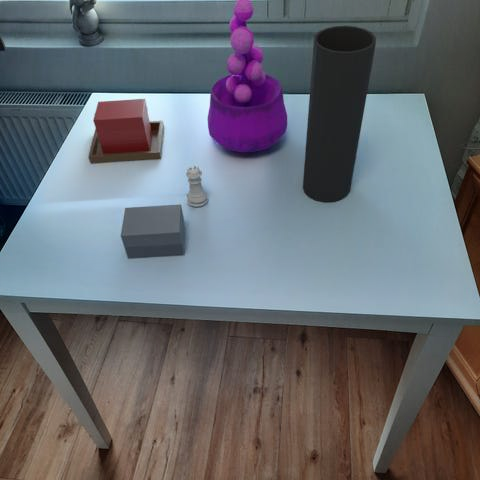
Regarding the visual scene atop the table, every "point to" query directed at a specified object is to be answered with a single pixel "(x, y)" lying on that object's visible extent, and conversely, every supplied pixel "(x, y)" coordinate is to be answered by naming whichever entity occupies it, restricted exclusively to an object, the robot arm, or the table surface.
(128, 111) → the burgundy book
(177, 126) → the table surface
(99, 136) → the burgundy book
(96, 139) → the book tray
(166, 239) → the gray box
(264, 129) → the decorative plant
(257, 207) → the table surface
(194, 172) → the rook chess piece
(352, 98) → the vase
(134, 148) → the burgundy book
